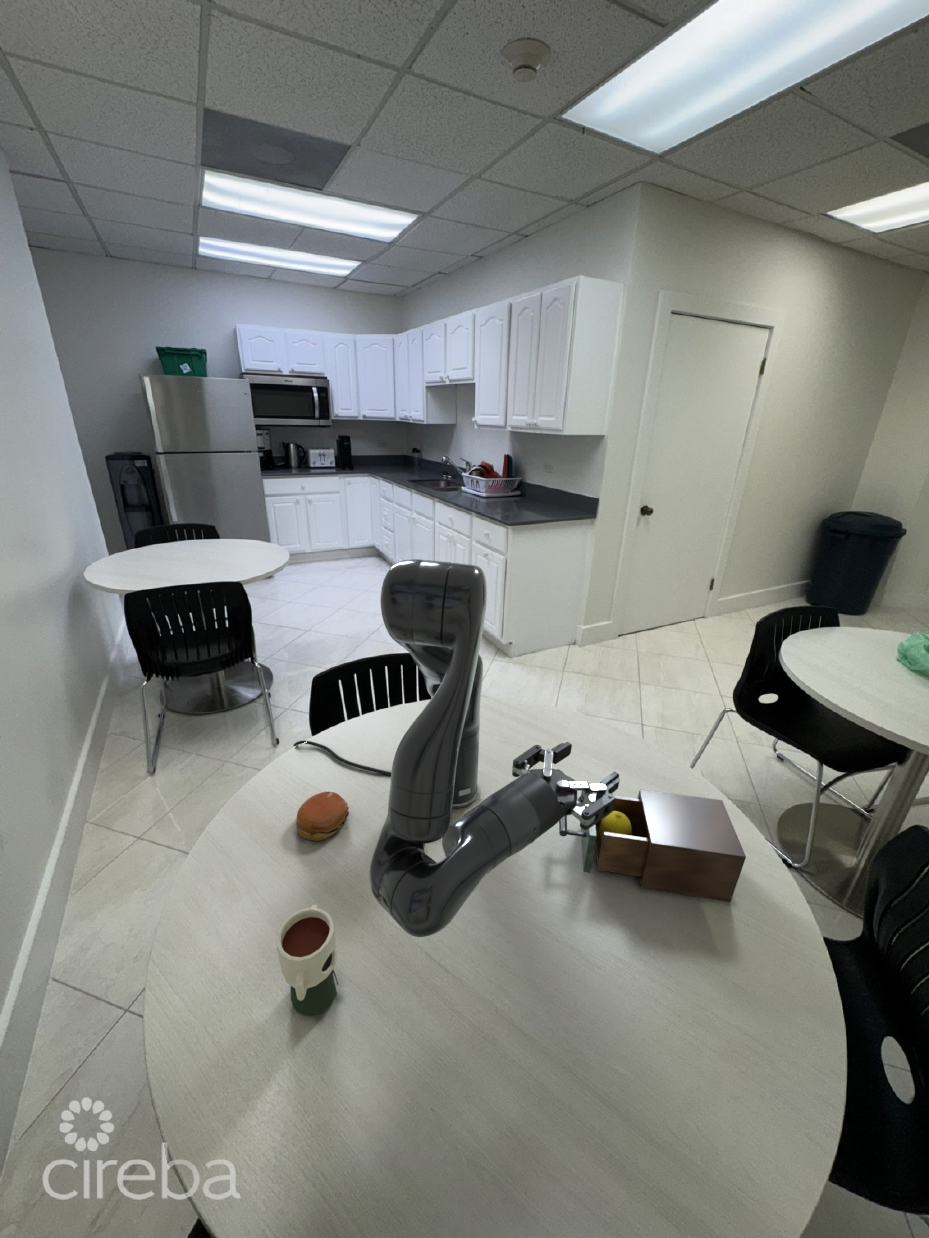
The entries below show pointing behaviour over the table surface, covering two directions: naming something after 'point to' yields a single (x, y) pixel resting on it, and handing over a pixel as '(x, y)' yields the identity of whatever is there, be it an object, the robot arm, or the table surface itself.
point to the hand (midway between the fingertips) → (592, 761)
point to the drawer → (615, 841)
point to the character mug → (309, 959)
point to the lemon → (615, 824)
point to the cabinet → (690, 846)
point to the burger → (321, 816)
